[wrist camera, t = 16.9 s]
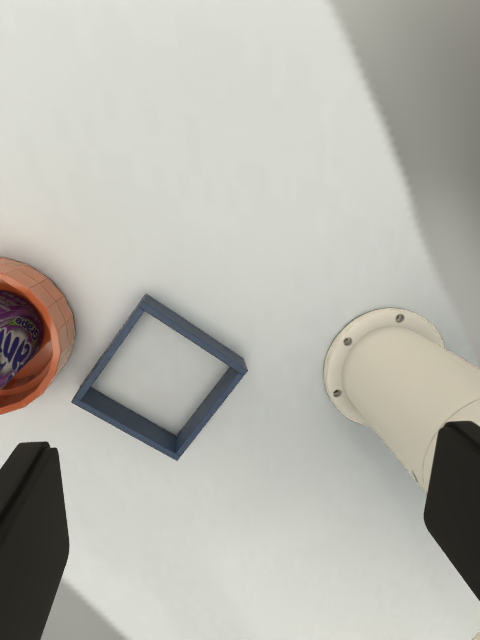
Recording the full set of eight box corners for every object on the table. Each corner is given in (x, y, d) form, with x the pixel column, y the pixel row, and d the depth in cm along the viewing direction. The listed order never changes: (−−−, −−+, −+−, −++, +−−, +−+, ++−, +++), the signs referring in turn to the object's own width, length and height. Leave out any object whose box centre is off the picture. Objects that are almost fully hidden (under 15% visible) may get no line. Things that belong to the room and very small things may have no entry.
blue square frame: (243, 358, 39) (248, 370, 37) (177, 443, 41) (177, 461, 38) (146, 293, 37) (142, 301, 34) (79, 387, 38) (70, 402, 35)
